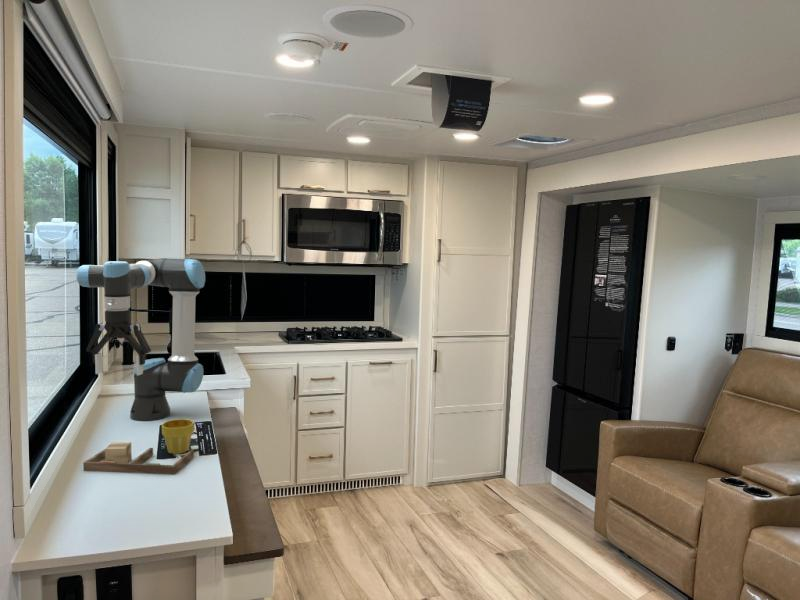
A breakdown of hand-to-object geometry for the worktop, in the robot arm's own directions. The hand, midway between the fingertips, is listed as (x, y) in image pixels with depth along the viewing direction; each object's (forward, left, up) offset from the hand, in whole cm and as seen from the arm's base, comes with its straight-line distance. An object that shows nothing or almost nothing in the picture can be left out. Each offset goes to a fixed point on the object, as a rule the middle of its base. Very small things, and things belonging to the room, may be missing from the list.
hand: (119, 373), depth 191 cm
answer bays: (+5, +9, -28) cm, 30 cm away
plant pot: (-8, +16, -29) cm, 34 cm away
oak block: (+5, +2, -28) cm, 29 cm away
